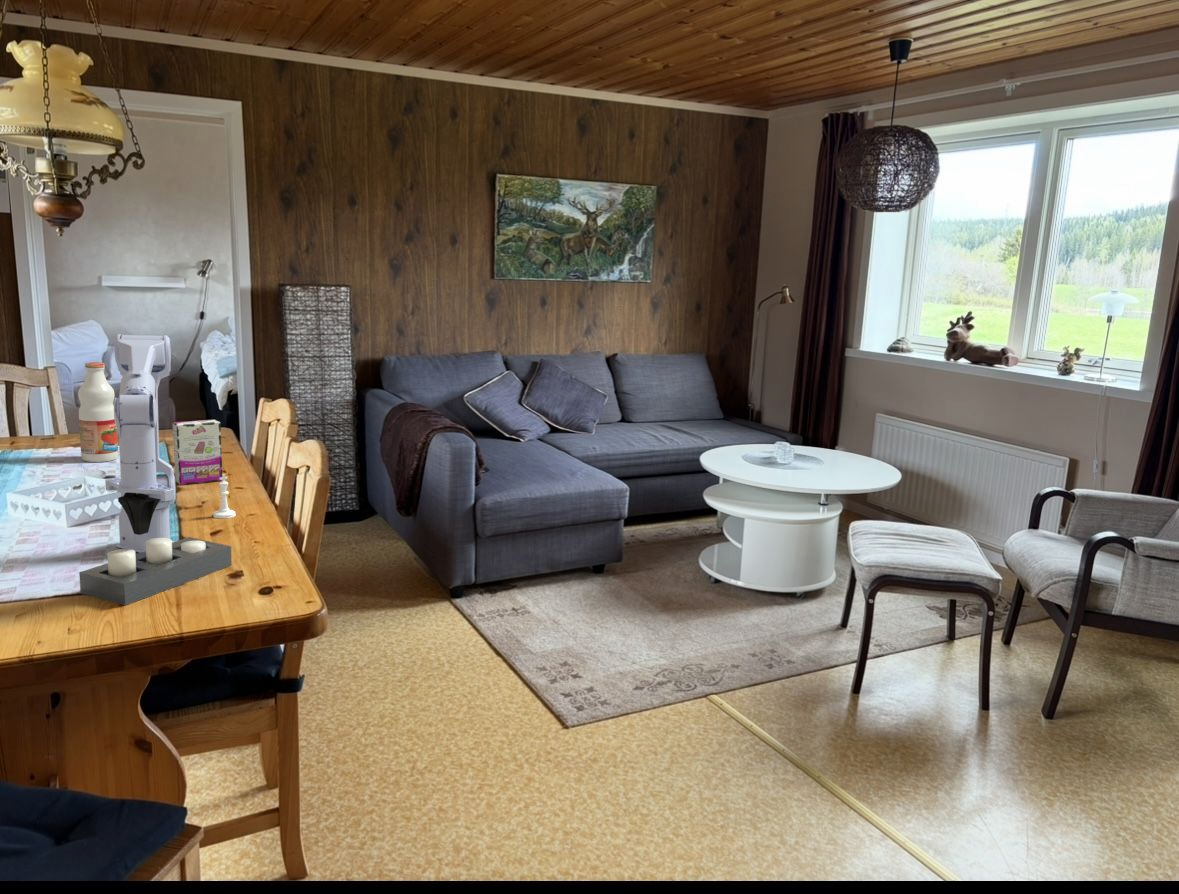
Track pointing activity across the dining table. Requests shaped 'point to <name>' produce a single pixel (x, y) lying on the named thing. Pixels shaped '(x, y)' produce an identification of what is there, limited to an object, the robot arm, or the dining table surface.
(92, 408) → the fruit juice
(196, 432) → the candy bar box
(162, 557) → the knob middle
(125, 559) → the knob
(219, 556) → the knob mount
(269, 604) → the dining table surface
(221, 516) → the chess piece
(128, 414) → the robot arm
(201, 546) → the knob
